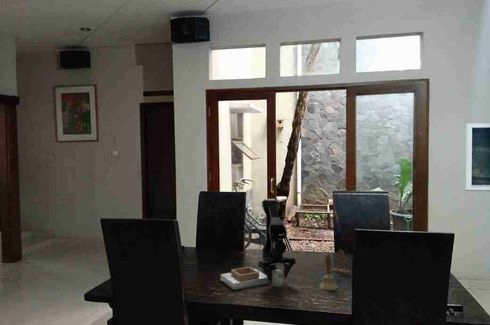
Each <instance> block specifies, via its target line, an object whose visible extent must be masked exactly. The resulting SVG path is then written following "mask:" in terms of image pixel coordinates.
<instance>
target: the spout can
mask: <svg viewBox="0 0 490 325" xmlns="http://www.w3.org/2000/svg"><path fill="white" fill-rule="evenodd" d="M283 277H284V274H283V270H282V269H278V268H277V269H274V270H271V278H272V279H271V280H272V286H273V287H275V288H276V287H277V288H279V287H282V286H284V285H283Z"/></svg>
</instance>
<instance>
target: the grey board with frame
mask: <svg viewBox="0 0 490 325" xmlns="http://www.w3.org/2000/svg"><path fill="white" fill-rule="evenodd" d="M220 281H221V282H223V283H224V284H225V285H226V286H228V287H229V288H231V289H232V290H233V291H234V290H240V289H247V288H250V287H251V288H252V287H256V286H262V285H267V284H270V283H271V280H270V281H268V278H267V275H266V273H263V272H262V271H260V270H258V269H257V268H253V267H251V266H245V267H239V268H233V269H231V270H230V272H227V273H226V272H225V273H221V274H220Z"/></svg>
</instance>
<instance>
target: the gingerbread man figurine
mask: <svg viewBox="0 0 490 325" xmlns="http://www.w3.org/2000/svg"><path fill="white" fill-rule="evenodd" d="M333 257H334V258H335V260H337V264H336V265H335V267H334V268H332V270H331V272H332V273H338V274H345V275H348V274H350V273H351V270H349V269H348V268H347V266H346V265H345V264H349V259H348V257H347V256H345V251H344V250H343V249H339V250H337V252H334V253H333ZM337 257H338V258H337ZM343 258H345V259H346V260H345V259H343ZM339 264H340V265H339ZM338 265H339V267H338ZM343 266H344V267H343ZM349 272H350V273H349Z"/></svg>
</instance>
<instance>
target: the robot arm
mask: <svg viewBox="0 0 490 325" xmlns="http://www.w3.org/2000/svg"><path fill="white" fill-rule="evenodd" d="M261 207H262V210H263V212H264V213H265V240H264V242H263V243H262V246H263V247H262V248H261V259H262V260H259V261H258V263H257V266H258V267H259V268H261V269H262V270H264V272H265V275H267V278H268V281H270V282H271V280H272V279H271V278H272V271H273V270H276V269H278V267H277V266H276V265H281V264H282V265H283V277H284V279H287V278H288V275H289V273H290V271H291V269H292V268H293V267H294V265H296V264H297V260H296V258H295V257H293V256H290V255H289V256H284V254H285V252H286V251H287V248H288V247H287V244H286V243H285V241H284V239H287V236H288V232H287V228H286V225H284V222H283V220H282V219H281V218H280V215H279V211H278V208H279V200H277V199H276V198H264V199H263V200H262V201H261Z"/></svg>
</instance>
